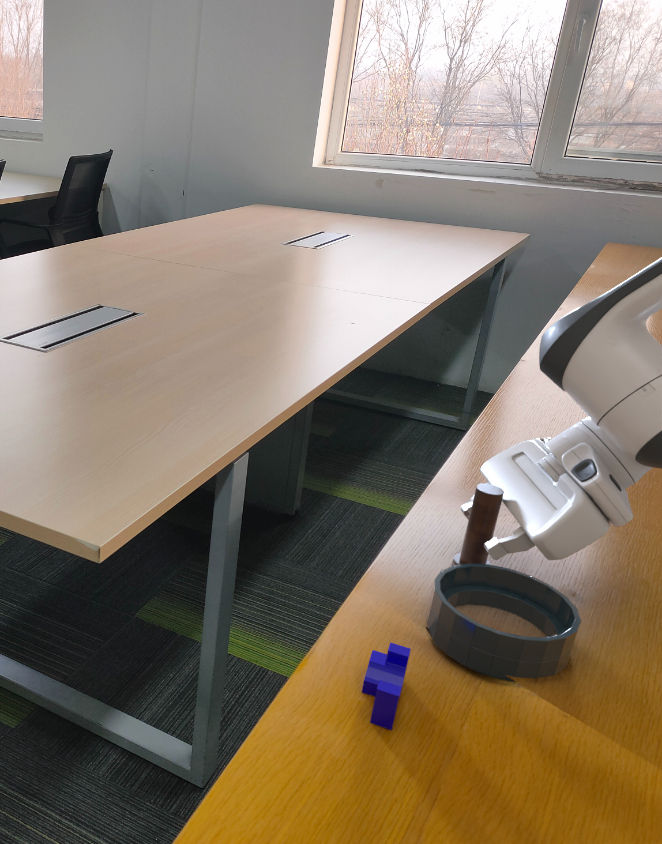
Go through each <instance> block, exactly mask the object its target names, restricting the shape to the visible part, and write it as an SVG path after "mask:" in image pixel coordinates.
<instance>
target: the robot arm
mask: <svg viewBox="0 0 662 844" xmlns="http://www.w3.org/2000/svg"><path fill="white" fill-rule="evenodd" d="M661 310H662V257H660V258H659V259H657V260H655V261H653V262H652V263H651V264H649V265H647V266H646V267H644V268H642V269H641V270H639V271H638V272H637V273H635V274H634V275H632V276H631V277H629V278H627V279H626V280H624V281H623V282H621V283H620V284H618V285H616V286H615V287H613V288H611V289H610V290H608V291H606V292H605V293H603V294H602V295H599V296H598V297H596V298H594V299H592V300H591V301H589V302H587V303H585V304H584V305H582V306H579V307H577V308H575V309H573V310H571V311H570V312H567V313H565V315H563V316H561V317H560V318H559V319H557V320H555V322H553V324H552V325H550V327H548V329H546V330H545V331H544V333H543V334H542V336H541V339H540V343H539V351H538V363H539V364H538V365H539V371H540V372H542V373H543V374H544V376H546V377H547V378H549V380H550V381H551V382H553V383H554V384H555V385H556V386H557V387H558V388H559V389H560V390H562V391H563V392H565V393H566V394H567V395H568V396H569V397H570V399H572V400H573V401H574V402H575V404H577V406H578V407H579V408H580V409H581V410H582V411H583V412H584V413H585V414H586V415H587V416H588V417H585V418H582V419H580V420H579V421H577V422H576V423H574V424H573V425H571V426H570V427H568V428H566V429H565V430H563V431H561V432H560V433H558V435H555V436H554V437H550V436H549V437H548V436H546V437H542V438H541V437H540V438H539V437H536V438H534V439H526V440H523V441H520V442H518V443H515V444H513V445H512V446H510V447H508V448H506V449H504V450H503V451H500V452H499V453H497V454H495V455H493V456H492V457H490V458H489V459H487V460H486V461H484V462H483V464H482V465H481V467H480V469H479V472H480V473H481V475H482V476H483V478H484V479H485V481H486V482H485V483H484V484H491V485H495V486H497V487H499V488H501V489H502V490H503V491H504V495H503V499H502V502H501V503H503V504H504V506H505V507H506V508H507V510H508V511H509V512H510V514H511V515H512V516H513V518H514V519H515V520H516V522H517V523H518V525H519V526H520V527H518V528H516V529H515V530H512V533H511V534H512V535H509V536H505V537H502V538H498V537H497V536H493V538H492V539H491V540H490V541H488V542H486V543H485V544H484V547H485V549H486V551H487V552H488V556H490V557H491V558H492V560H493V561H498V560H501V559H502V558H503V557H505V556H507V555H508V554H509V555H510V554H516V553H522V552H528V551H529V550H530V549H532V548H535V547H536V548H537V549H538V551H539V552H540V553H541V554H542V555H543V557H544V558H545V559H546V560H547V561H559V560H564V559H566V558H568V557H570V556H572V555H574V554H576V553H579V552H580V551H581V550H583V549H585V548H587V547H588V546H591V544H593V543H595V542H596V541H598V540H600V539H601V538H602V537H603V536H605V535H606V534H607V532H608V531H609V530H610V528H611V525H612V526H613V527H616V528H621V527H623V526H625V525H627V524H628V523H629V522H630V521H632V520H633V518H634V514H633V509H632V507H631V503H630V500H629V495H628V491H627V489H628V488H630V487H632V486H633V485H634V484H635V485H636V484H637V483H638V482H639V481H640V480H641V479H642V478H643V477H644V476H645V474H647V473H648V472H650V471H651V470H653V469H661V470H662V344H661V343H660V341H659V340H657V339H656V338H655V336H653V335H652V334H651V333H650V332H649V330H648V328H647V321H648V319H649V318H650V317H651V316H652V315H654V314H655V313H657V312H659V311H661ZM474 495H475V493H474V494H473V495H472V496H471V497H470V500H468V501H466V502H465V503H463V504H462V505H461V506H459V508H460V511H461V512H462V514H463V516H464V517H466V519H467V520H469V516H470V512H471V508H472V503H473V499H474Z"/></svg>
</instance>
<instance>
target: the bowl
mask: <svg viewBox="0 0 662 844" xmlns="http://www.w3.org/2000/svg"><path fill="white" fill-rule="evenodd" d="M469 605H470V606H484V607H489V608H493V609H498V610H501V611H504V612H507V613H510V614H513V615H515V616H517V617H518V618H519V617H520V618H521V619H523V620H524V621H527V622H528V623H530V624H532V625H533V626H534V627H536V628H537V629H538V630H539V631H540V632H541V633H543V634H544V637H542V636H525V635H520V634H514V633H510V632H506V631H501V630H498V629H496V628H493V627H490V626H487V625H485V624H482V623H481V622H480V623H479V622H478V621H476V620H474V619H473V618H471V617H469V616H468V615H466V614H465V613H462V612H460V611H459V610H458V609H457V608H456V607H462V606H469ZM580 615H581V614H580V613H579V610H578V608H577V606H576V605H575V604H574V603H573V602H572V600H570V599H569V597H568V596H566V595H565V594H564V593H562V592H561V591H560V590H558V589H557V588H556V587H554V586H552V585H551V584H549V583H547V582H545V581H543V580H541V579H539V578H537V577H535V576H532V575H531V574H527V573H525V572H521V571H518V570H515V569H512V568H509V567H504V566H498V565H495V564H491V565H489V564H472V563H468V564H461V565H454V566H449V567H447V568H445V569H442V570H440V572H439V573H438V574H437V576H436V577H435V578H434V581H433V584H432V590H431V594H430V598H429V604H428V608H427V612H426V626H425V629H426V631H427V633H428V635H429V636H430V638H431V640H432V642H433V643H434V644H435V645H436V646H437V647H438V648H439V649H440V650H441V651H442V652H443V653H444V654H445V655H446V656H449V657H450V658H451V659H453V660H454V661H456V662H457V663H458V664H460V665H462V666H464V667H465V668H467V669H469V670H471V671H473V672H475V673H478V674H480V675H483V676H486V677H488V678H492V679H496V680H500V681H505V682H510V683H511V682H512V683H517V681H516V680H514V679H513V678H523V679H541V678H546V677H551V676H555V675H557V674H559V673H560V672H562V671H563V670H564V669H566V668H567V667H568V663H569V661H570V659H571V656H572V652H573V650H574V646H575V642H576V640H577V636H578V633H579V631H580V626H581V623H582V619H581V616H580Z"/></svg>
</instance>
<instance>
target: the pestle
mask: <svg viewBox="0 0 662 844" xmlns="http://www.w3.org/2000/svg"><path fill="white" fill-rule="evenodd" d="M474 494H475V495H474ZM474 494H473V495H474V499H473V503H472V508H471V512H470V516H469V520H468V519H467V520H468V521H467V525H466V529H465V534H464V538H463V542H462V546H461V549H460V552H459V553H455V554H454V555H453V558H452V561H451V566H454V565H461V564H468V563H472V564H489V565H492V563H491V562H490V561H489V560H488V558H489V554H488V552H487V551H486V549H485V547H484V544H485V543H486V542H488V541H490V540H491V539H492V538H494V534H495V531H496V526H497V522H498V518H499V515H500V510H501V506H502V503H503V502H502V499H503V495H504V491H503V490H502V489H501V488H499V487H497V486H495V485H491V484H485V483H479V484H477V485H476V486H475V491H474ZM451 566H450V567H451Z"/></svg>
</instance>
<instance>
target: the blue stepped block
mask: <svg viewBox="0 0 662 844" xmlns="http://www.w3.org/2000/svg"><path fill="white" fill-rule="evenodd" d="M411 650H412V649H411V648H410V647H406V646H403V645H400V644H397V643H394V642H389V646H388V649H387V653H384V652H381V651H378V650H374V649H372V651H371V654H370V657H369V660H368V664H367V669H366V671H365V676H364V679H363V684H362V688H361V693H362V694H366V695H368V696H372V697H374V701H373V706H372V711H371V716H370V720H369V724H371V725H372V724H373V725H375V726H378V727H381V728H383V729H387V730H389V731H392V730H393V727H394V723H395V718H396V714H397V710H398V706H399V702H400V699H401V693H402V689H403V686H404V682H405V677H406V673H407V668H408V664H409V659H410V654H411Z"/></svg>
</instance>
